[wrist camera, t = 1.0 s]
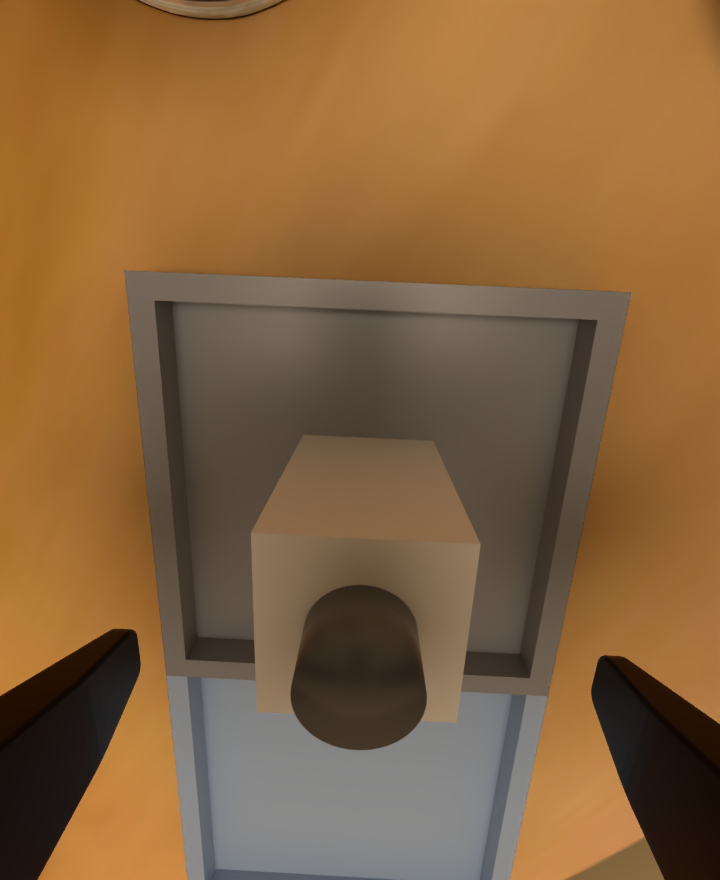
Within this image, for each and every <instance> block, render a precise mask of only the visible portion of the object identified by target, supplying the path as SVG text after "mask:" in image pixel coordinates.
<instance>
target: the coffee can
mask: <svg viewBox="0 0 720 880" xmlns="http://www.w3.org/2000/svg"><path fill="white" fill-rule="evenodd" d="M140 1H142V2H144V3H146V4H148V5H151V6H153V7H156V8H159V9H161V10H164V11H167V12H170V13H174V14H178V15H183V16H189V17H194V18H210V19H215V18H232V17H240V16H245V15H249V14H252V13H255V12H257V11H260V10H262V9H265V8H268V7H270V6H272V5H275V4H277V3H279V2H281V1H282V0H140Z"/></svg>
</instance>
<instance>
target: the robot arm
mask: <svg viewBox="0 0 720 880" xmlns="http://www.w3.org/2000/svg"><path fill="white" fill-rule="evenodd" d="M140 665H141V664H140V654H139V646H138V638H137V634H136V632H135V631H134V630H131V629H112V630H110V631H108V632H107V633H105V634H103V635H102V636H100V637H98V638H97V639H95V640H93V641H92V642H90V643H88V644H87V645H85V646H83V647H81V648H80V649H78V650H76V651H75V652H73V653H71V654H70V655H68V656H66V657H65V658H63V659H61V660H60V661H58V662H56V663H55V664H53V665H51V666H50V667H48V668H46V669H45V670H43V671H41V672H40V673H38V674H36V675H35V676H33V677H31V678H30V679H28V680H26V681H25V682H23V683H21V684H20V685H18V686H16V687H15V688H13V689H11V690H10V691H8V692H6V693H4V694H3V695H1V696H0V880H38V878H39V876H40V874H41V872H42V870H43V869H44V867H45V865H46V863H47V861H48V859H49V858H50V856H51V854H52V852H53V850H54V848H55V846H56V845H57V843H58V841H59V839H60V837H61V835H62V834H63V832H64V830H65V828H66V826H67V824H68V823H69V821H70V819H71V817H72V815H73V813H74V811H75V810H76V808H77V806H78V804H79V802H80V800H81V799H82V797H83V795H84V793H85V791H86V789H87V787H88V786H89V784H90V782H91V780H92V778H93V776H94V775H95V773H96V771H97V769H98V767H99V765H100V763H101V761H102V759H103V757H104V755H105V752H106V750H107V748H108V746H109V743H110V741H111V739H112V736H113V734H114V732H115V730H116V727H117V725H118V723H119V720H120V718H121V716H122V713H123V711H124V709H125V706H126V704H127V702H128V699H129V697H130V695H131V692H132V690H133V688H134V685H135V683H136V681H137V678H138V676H139V672H140ZM591 695H592V701H593V704H594V707H595V710H596V713H597V716H598V719H599V721H600V724H601V727H602V730H603V733H604V736H605V738H606V741H607V744H608V747H609V750H610V753H611V755H612V758H613V761H614V764H615V767H616V769H617V772H618V775H619V778H620V780H621V783H622V786H623V788H624V791H625V793H626V796H627V798H628V800H629V802H630V805H631V807H632V809H633V812H634V814H635V816H636V818H637V820H638V822H639V825H640V827H641V829H642V831H643V833H644V836H645V838H646V840H647V842H648V844H649V846H650V849H651V851H652V853H653V855H654V858H655V860H656V862H657V864H658V866H659V868H660V870H661V873H662V875H663V877H664V879H665V880H720V724H719V723H717V722H716V721H715V720H713V719H712V718H710V717H709V716H707V715H706V714H705V713H703V712H702V711H700V710H699V709H698V708H696V707H695V706H693V705H692V704H690V703H689V702H688V701H686V700H685V699H683V698H682V697H681V696H679V695H678V694H676V693H675V692H673V691H672V690H671V689H669V688H668V687H666V686H665V685H663V684H662V683H661V682H659V681H658V680H656V679H655V678H654V677H652V676H651V675H649V674H648V673H646V672H645V671H644V670H642V669H641V668H639V667H638V666H637V665H635V664H634V663H632V662H631V661H629V660H628V659H626V658H625V657H621V656H607V655H605V656H601V657H600V659H599V660H598V663H597V668H596V672H595V676H594V680H593V684H592V689H591Z"/></svg>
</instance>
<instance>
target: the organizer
mask: <svg viewBox="0 0 720 880" xmlns="http://www.w3.org/2000/svg"><path fill="white" fill-rule="evenodd" d="M124 272H125V282H126V291H127V301H128V311H129V320H130V330H131V339H132V349H133V359H134V368H135V378H136V388H137V397H138V407H139V417H140V426H141V436H142V446H143V455H144V465H145V474H146V484H147V494H148V503H149V513H150V523H151V532H152V542H153V552H154V561H155V571H156V581H157V590H158V600H159V609H160V619H161V629H162V638H163V648H164V658H165V667H166V677H167V687H168V696H169V706H170V716H171V725H172V735H173V744H174V754H175V764H176V773H177V783H178V793H179V802H180V812H181V822H182V831H183V841H184V851H185V860H186V870H187V879H188V880H510V877H511V872H512V867H513V862H514V857H515V853H516V848H517V843H518V838H519V833H520V828H521V824H522V819H523V814H524V809H525V804H526V799H527V795H528V790H529V785H530V780H531V775H532V770H533V766H534V761H535V756H536V751H537V746H538V741H539V737H540V732H541V727H542V722H543V717H544V712H545V707H546V703H547V698H548V693H549V688H550V683H551V678H552V674H553V669H554V664H555V659H556V654H557V649H558V645H559V640H560V635H561V630H562V625H563V620H564V616H565V611H566V606H567V601H568V596H569V591H570V587H571V582H572V577H573V572H574V567H575V562H576V558H577V553H578V548H579V543H580V538H581V533H582V528H583V524H584V519H585V514H586V509H587V504H588V499H589V495H590V490H591V485H592V480H593V475H594V470H595V466H596V461H597V456H598V451H599V446H600V441H601V437H602V432H603V427H604V422H605V417H606V412H607V408H608V403H609V398H610V393H611V388H612V383H613V379H614V374H615V369H616V364H617V359H618V354H619V350H620V345H621V340H622V335H623V330H624V325H625V320H626V316H627V311H628V306H629V301H630V296H631V292H612V291H589V290H566V289H543V288H520V287H497V286H473V285H450V284H427V283H404V282H381V281H357V280H334V279H311V278H288V277H265V276H241V275H218V274H195V273H172V272H149V271H126V270H124ZM303 435H321V436H343V437H364V438H385V439H406V440H427V441H433V442H434V444H435V446H436V448H437V450H438V452H439V455H440V457H441V459H442V461H443V463H444V465H445V468H446V470H447V472H448V474H449V476H450V479H451V481H452V483H453V485H454V487H455V489H456V492H457V494H458V496H459V498H460V500H461V503H462V505H463V507H464V509H465V511H466V513H467V516H468V518H469V520H470V522H471V524H472V526H473V529H474V531H475V533H476V535H477V537H478V540H479V542H480V544H481V546H480V554H479V561H478V568H477V576H476V583H475V591H474V598H473V605H472V613H471V620H470V628H469V635H468V642H467V650H466V657H465V665H464V672H463V680H462V687H461V694H460V702H459V709H458V717H457V723H447V722H429V721H420V722H419V723H418V725H417V726H416V727H415V729H414V730H413V731H412V732H410V733H409V734H408V735H407V736H405V737H404V738H403V739H401V740H399V741H398V742H396V743H393V744H391V745H389V746H385V747H382V748H378V749H372V750H349V749H343V748H339V747H335V746H332V745H330V744H327V743H325V742H323V741H321V740H319V739H318V738H316V737H315V736H313V735H312V734H310V733H309V732H308V731H307V730H306V729H305V728H304V727H303V726H302V724H301V723H300V722H299V720H298V719H297V717H296V716H295V714H283V713H265V712H257V710H256V678H255V647H254V616H253V585H252V554H251V532H252V530H253V528H254V526H255V524H256V522H257V520H258V519H259V517H260V515H261V513H262V511H263V509H264V507H265V505H266V504H267V502H268V500H269V498H270V496H271V494H272V492H273V490H274V489H275V487H276V485H277V483H278V481H279V479H280V477H281V476H282V474H283V472H284V470H285V468H286V466H287V464H288V462H289V461H290V459H291V457H292V455H293V453H294V451H295V449H296V447H297V446H298V444H299V442H300V440H301V438H302V436H303Z"/></svg>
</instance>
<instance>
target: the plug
mask: <svg viewBox="0 0 720 880" xmlns="http://www.w3.org/2000/svg"><path fill="white" fill-rule="evenodd" d="M480 546H481V544H480V542H479V540H478V537H477V535H476V533H475V531H474V529H473V526H472V524H471V522H470V520H469V518H468V516H467V513H466V511H465V509H464V507H463V505H462V503H461V500H460V498H459V496H458V494H457V492H456V489H455V487H454V485H453V483H452V481H451V479H450V476H449V474H448V472H447V470H446V468H445V465H444V463H443V461H442V459H441V457H440V455H439V452H438V450H437V448H436V446H435V444H434V442H433V441H427V440H406V439H385V438H364V437H343V436H321V435H303V436H302V438H301V440H300V442H299V444H298V446H297V447H296V449H295V451H294V453H293V455H292V457H291V459H290V461H289V462H288V464H287V466H286V468H285V470H284V472H283V474H282V476H281V477H280V479H279V481H278V483H277V485H276V487H275V489H274V490H273V492H272V494H271V496H270V498H269V500H268V502H267V504H266V505H265V507H264V509H263V511H262V513H261V515H260V517H259V519H258V520H257V522H256V524H255V526H254V528H253V530H252V532H251V554H252V585H253V616H254V647H255V678H256V710H257V712H265V713H283V714H295V716H296V717H297V719H298V720H299V722H300V723H301V724H302V726H303V727H304V728H305V729H306V730H307V731H308V732H309V733H310V734H312V735H313V736H315V737H316V738H318V739H319V740H321V741H323V742H325V743H327V744H330V745H332V746H335V747H339V748H343V749H349V750H372V749H378V748H382V747H385V746H389V745H391V744H393V743H396V742H398V741H399V740H401V739H403V738H404V737H405V736H407V735H408V734H409V733H410V732H412V731H413V730H414V729H415V727H416V726H417V725H418V723H419V722H420V721H429V722H447V723H457V717H458V709H459V702H460V694H461V687H462V680H463V672H464V665H465V657H466V650H467V642H468V635H469V628H470V620H471V613H472V605H473V598H474V591H475V583H476V576H477V568H478V561H479V554H480Z"/></svg>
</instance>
